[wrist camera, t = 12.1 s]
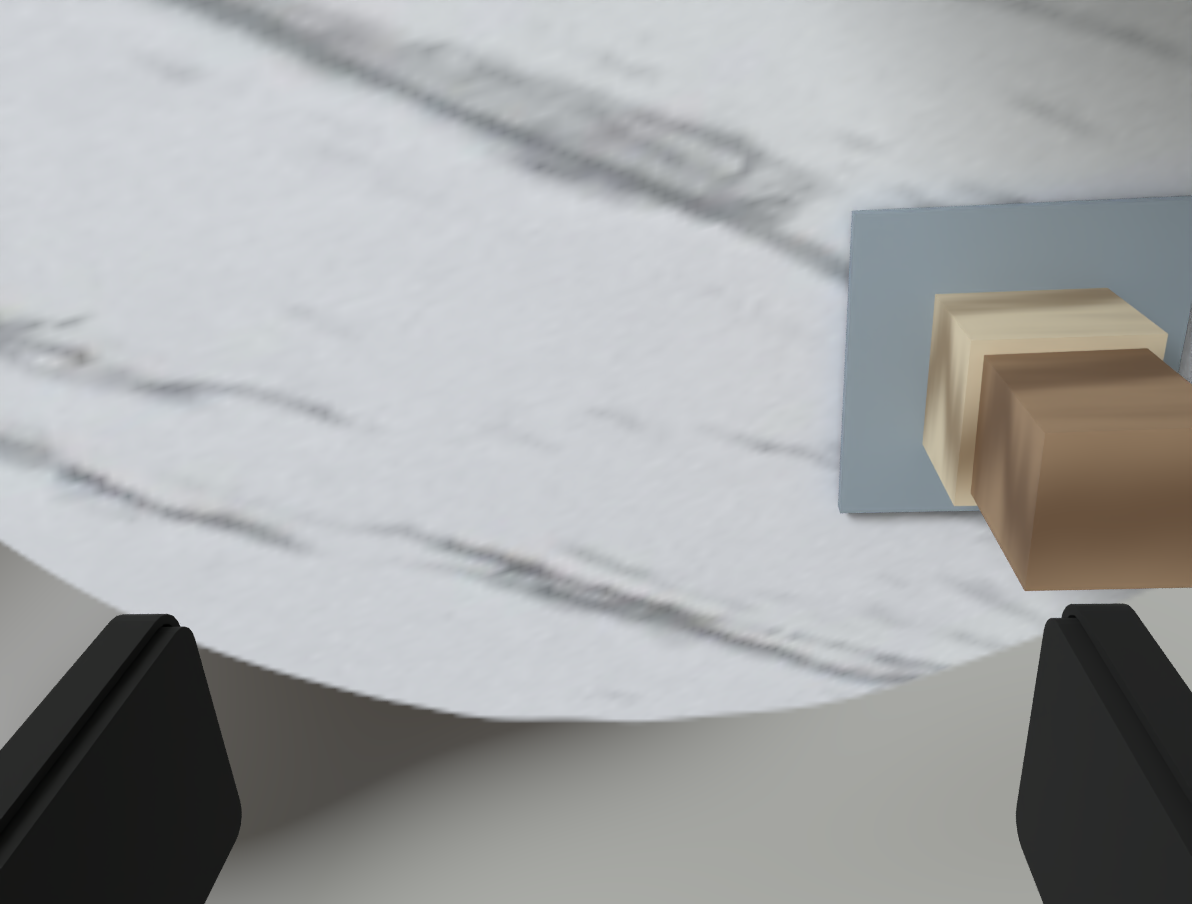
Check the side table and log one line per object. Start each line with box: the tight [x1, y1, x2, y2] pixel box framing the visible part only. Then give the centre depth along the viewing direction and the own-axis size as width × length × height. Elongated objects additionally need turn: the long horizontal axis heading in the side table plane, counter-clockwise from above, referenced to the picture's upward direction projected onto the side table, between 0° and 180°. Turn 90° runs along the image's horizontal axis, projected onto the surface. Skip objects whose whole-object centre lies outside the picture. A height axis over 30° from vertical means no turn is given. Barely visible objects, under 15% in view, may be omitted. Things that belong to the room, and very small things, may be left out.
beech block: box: [922, 288, 1168, 506], centre depth 36 cm, size 6×6×5 cm
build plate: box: [838, 196, 1192, 513], centre depth 38 cm, size 12×12×1 cm
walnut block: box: [971, 348, 1192, 591], centre depth 31 cm, size 5×5×6 cm
